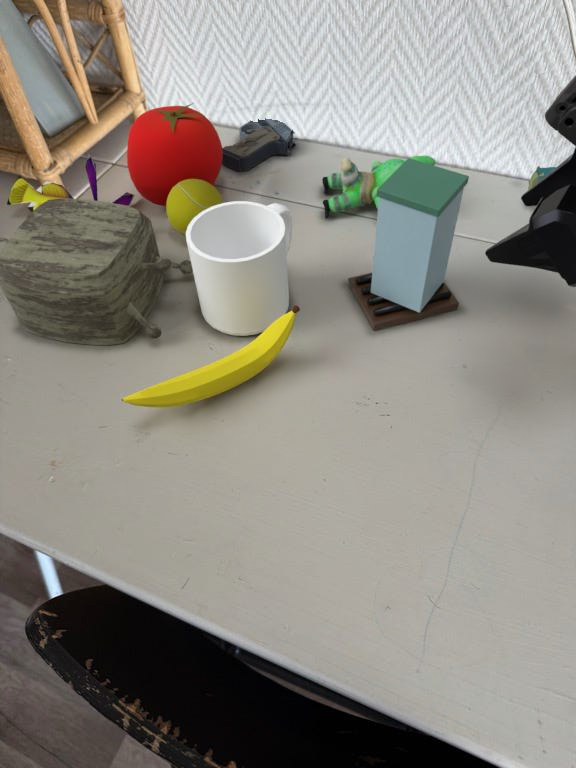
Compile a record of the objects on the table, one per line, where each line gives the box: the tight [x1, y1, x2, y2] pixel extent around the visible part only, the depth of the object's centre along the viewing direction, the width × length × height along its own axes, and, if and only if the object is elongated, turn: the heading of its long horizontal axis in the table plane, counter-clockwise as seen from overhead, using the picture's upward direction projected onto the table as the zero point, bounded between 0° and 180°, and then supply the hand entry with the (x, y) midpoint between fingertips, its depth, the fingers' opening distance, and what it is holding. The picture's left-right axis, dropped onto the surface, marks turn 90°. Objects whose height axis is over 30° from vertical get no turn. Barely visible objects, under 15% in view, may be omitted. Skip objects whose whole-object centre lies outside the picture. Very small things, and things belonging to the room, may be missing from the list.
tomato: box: [126, 102, 223, 207], centre depth 78 cm, size 12×14×11 cm
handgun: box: [222, 118, 297, 172], centre depth 89 cm, size 2×14×12 cm
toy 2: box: [321, 155, 437, 219], centre depth 77 cm, size 10×7×15 cm
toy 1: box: [6, 153, 136, 213], centre depth 76 cm, size 12×19×10 cm
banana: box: [121, 305, 301, 409], centre depth 58 cm, size 3×19×6 cm, turn 122°
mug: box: [185, 200, 293, 337], centre depth 64 cm, size 13×10×10 cm
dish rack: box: [347, 272, 460, 332], centre depth 67 cm, size 10×8×2 cm
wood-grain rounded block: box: [0, 198, 193, 346], centre depth 66 cm, size 14×9×25 cm
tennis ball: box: [165, 179, 224, 237], centre depth 74 cm, size 7×7×7 cm
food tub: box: [371, 157, 470, 313], centre depth 61 cm, size 6×6×13 cm
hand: (506, 227), depth 53 cm, fingers open, 9 cm apart
